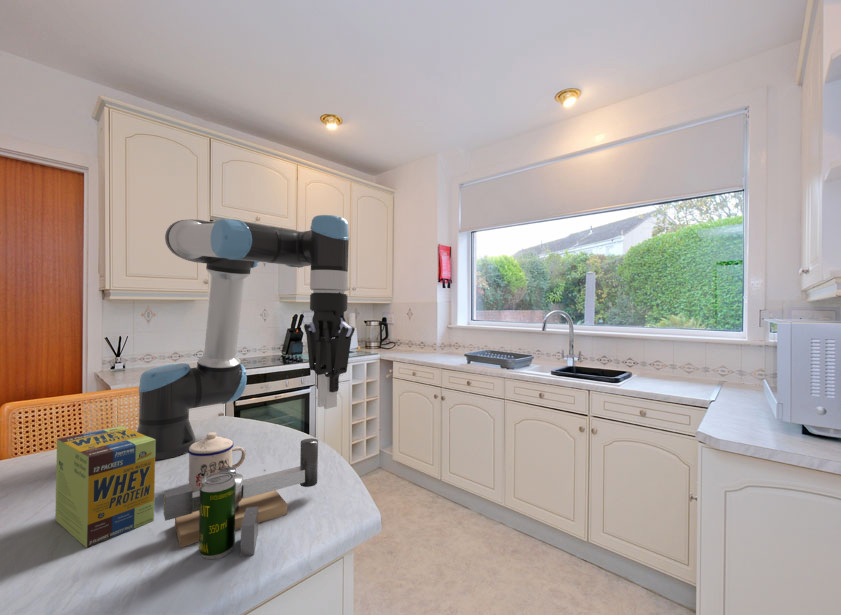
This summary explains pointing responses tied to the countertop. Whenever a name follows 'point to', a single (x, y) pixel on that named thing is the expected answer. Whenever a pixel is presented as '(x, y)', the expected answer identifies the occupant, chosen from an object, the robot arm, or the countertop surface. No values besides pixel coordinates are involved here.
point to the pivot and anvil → (247, 524)
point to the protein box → (104, 483)
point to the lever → (250, 483)
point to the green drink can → (217, 515)
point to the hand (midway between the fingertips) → (327, 406)
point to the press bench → (267, 509)
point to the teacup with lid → (210, 458)
